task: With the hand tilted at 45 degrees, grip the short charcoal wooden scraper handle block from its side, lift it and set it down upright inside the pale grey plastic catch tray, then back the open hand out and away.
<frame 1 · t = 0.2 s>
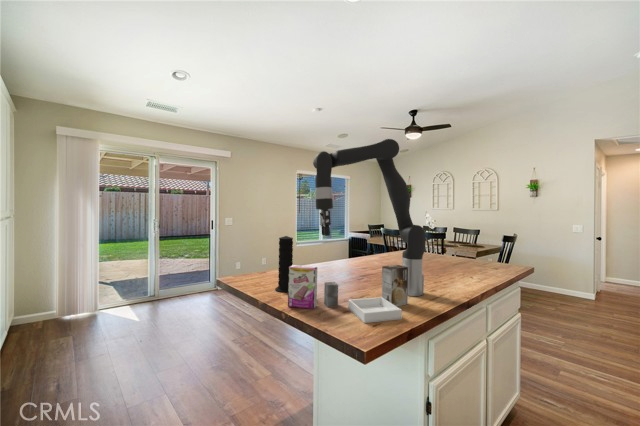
hand: (325, 235, 121), 29 cm above the countertop, tool pointing down, fingers open, 8 cm apart
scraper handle: (330, 305, 116), on the countertop
catch tray: (373, 313, 108), on the countertop
candy bar box: (302, 307, 114), on the countertop
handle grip: (285, 290, 137), on the countertop
coffee box: (394, 304, 119), on the countertop
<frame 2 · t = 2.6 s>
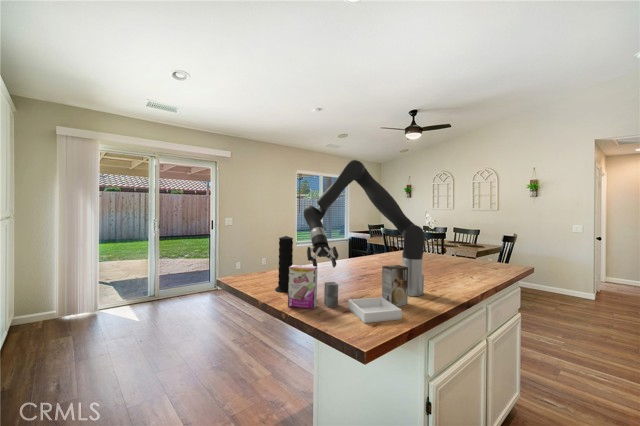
hand: (325, 267, 124), 14 cm above the countertop, tool tilted 45°, fingers open, 8 cm apart
nothing on the countertop moved.
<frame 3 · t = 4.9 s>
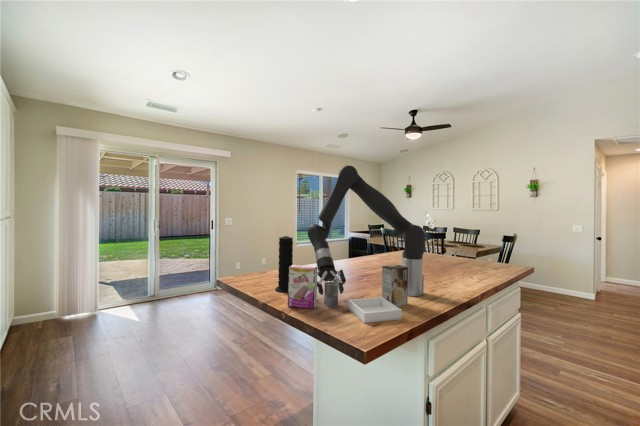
hand: (332, 293, 115), 5 cm above the countertop, tool tilted 45°, fingers open, 8 cm apart
candy bar box: (302, 307, 114), on the countertop, touching gripper
everything else where it was.
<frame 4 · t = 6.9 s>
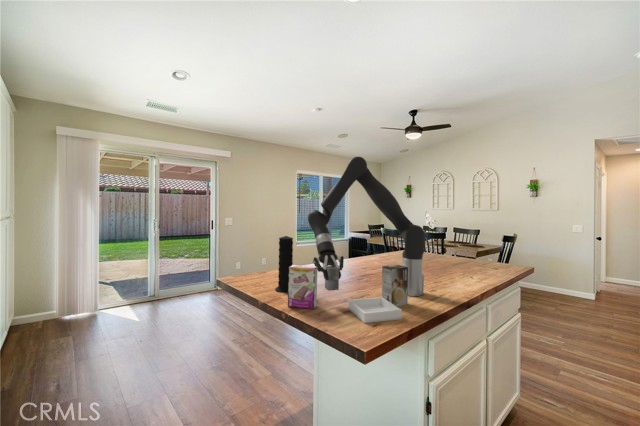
hand: (333, 278, 115), 11 cm above the countertop, tool tilted 45°, fingers closed on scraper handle, 4 cm apart
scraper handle: (331, 288, 116), point 7 cm above the countertop, touching gripper
candy bar box: (302, 307, 114), on the countertop
everything else where it was.
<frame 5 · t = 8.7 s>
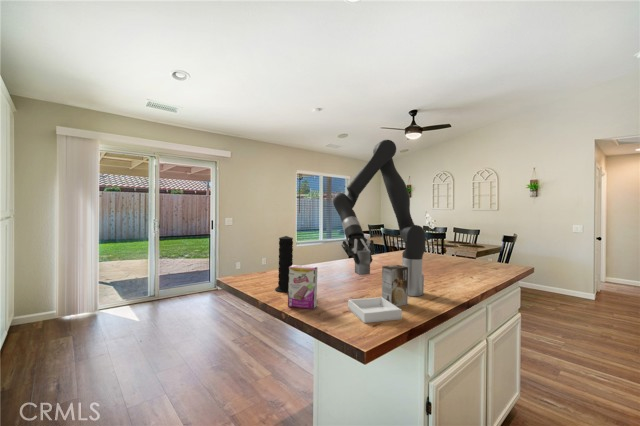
hand: (364, 262, 108), 19 cm above the countertop, tool tilted 45°, fingers closed on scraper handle, 4 cm apart
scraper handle: (362, 273, 110), point 15 cm above the countertop, touching gripper
everything else where it was.
when the fingers open (7 cm above the countertop, at t = 12.1 s): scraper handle drops 1 cm, resting on catch tray.
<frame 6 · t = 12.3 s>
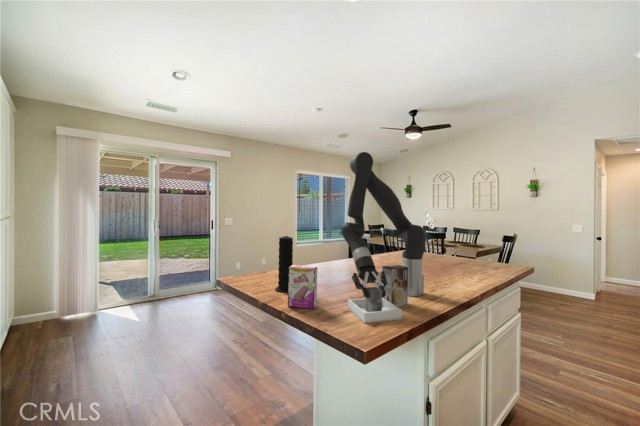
hand: (376, 297, 106), 7 cm above the countertop, tool tilted 45°, fingers open, 6 cm apart
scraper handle: (373, 312, 108), point 1 cm above the countertop, touching catch tray
everything else where it was.
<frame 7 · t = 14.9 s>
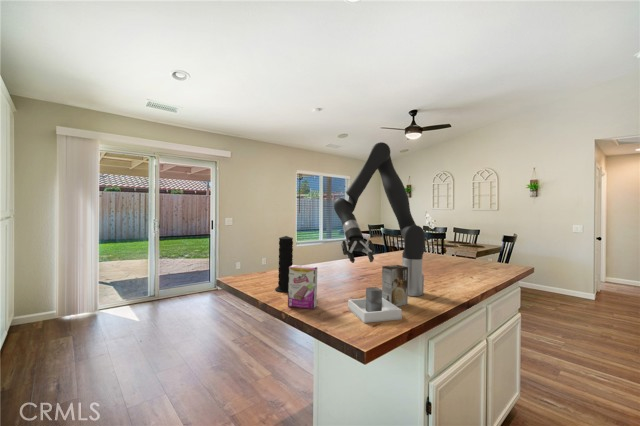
hand: (362, 261, 117), 18 cm above the countertop, tool tilted 45°, fingers open, 8 cm apart
nothing on the countertop moved.
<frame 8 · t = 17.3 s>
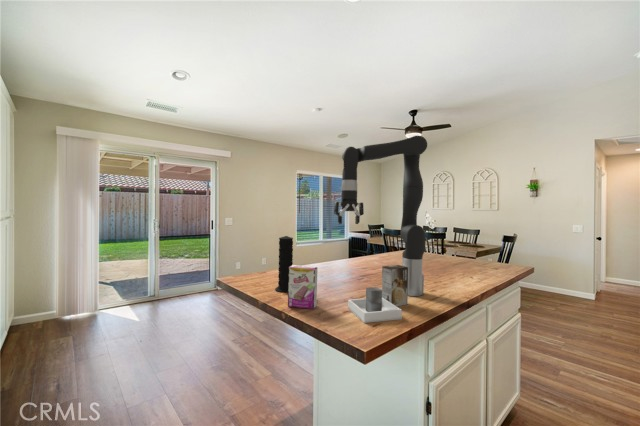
hand: (348, 223, 133), 33 cm above the countertop, tool pointing down, fingers open, 8 cm apart
nothing on the countertop moved.
at the end: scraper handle inside the target area on the catch tray (0.0 cm from its centre), point 0.6 cm above the catch tray's base; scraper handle tilted 0°; the gripper is holding nothing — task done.
